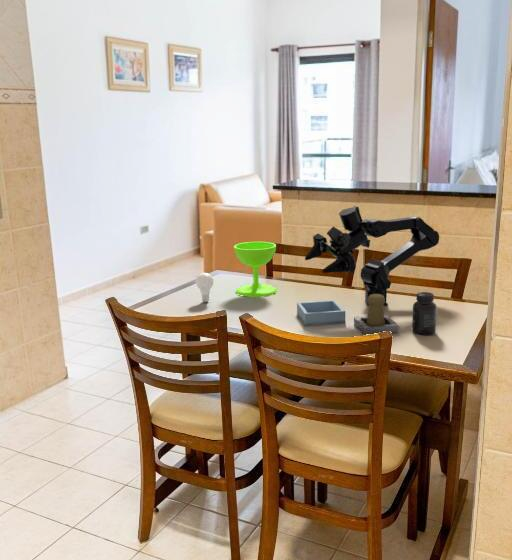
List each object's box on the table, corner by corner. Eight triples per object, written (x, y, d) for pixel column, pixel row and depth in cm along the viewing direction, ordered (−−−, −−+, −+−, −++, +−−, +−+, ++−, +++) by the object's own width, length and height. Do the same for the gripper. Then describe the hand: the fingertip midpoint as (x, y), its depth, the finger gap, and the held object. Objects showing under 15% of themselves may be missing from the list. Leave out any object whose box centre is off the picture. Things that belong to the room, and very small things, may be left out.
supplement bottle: (408, 329, 188) (410, 291, 185) (430, 328, 189) (432, 290, 186) (416, 336, 181) (417, 297, 179) (438, 335, 182) (440, 296, 179)
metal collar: (386, 322, 195) (386, 315, 194) (398, 333, 185) (398, 325, 184) (353, 324, 194) (354, 317, 193) (364, 335, 183) (364, 327, 183)
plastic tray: (334, 311, 208) (334, 300, 207) (345, 323, 195) (345, 311, 194) (297, 314, 206) (296, 302, 205) (305, 326, 194) (305, 313, 193)
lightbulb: (193, 303, 222) (192, 274, 219) (201, 299, 227) (200, 270, 225) (209, 305, 219) (208, 275, 217) (217, 300, 225) (216, 271, 222)
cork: (385, 332, 186) (386, 297, 183) (365, 331, 187) (365, 297, 184) (385, 326, 191) (386, 292, 189) (365, 325, 193) (366, 291, 190)
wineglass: (277, 296, 227) (276, 249, 223) (234, 297, 228) (232, 250, 223) (276, 286, 243) (275, 241, 239) (236, 286, 243) (234, 242, 239)
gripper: (329, 211, 206) (292, 234, 201) (366, 234, 193) (328, 259, 188) (333, 237, 213) (298, 259, 209) (370, 261, 200) (333, 285, 196)
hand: (313, 265), depth 200 cm, fingers open, 9 cm apart
